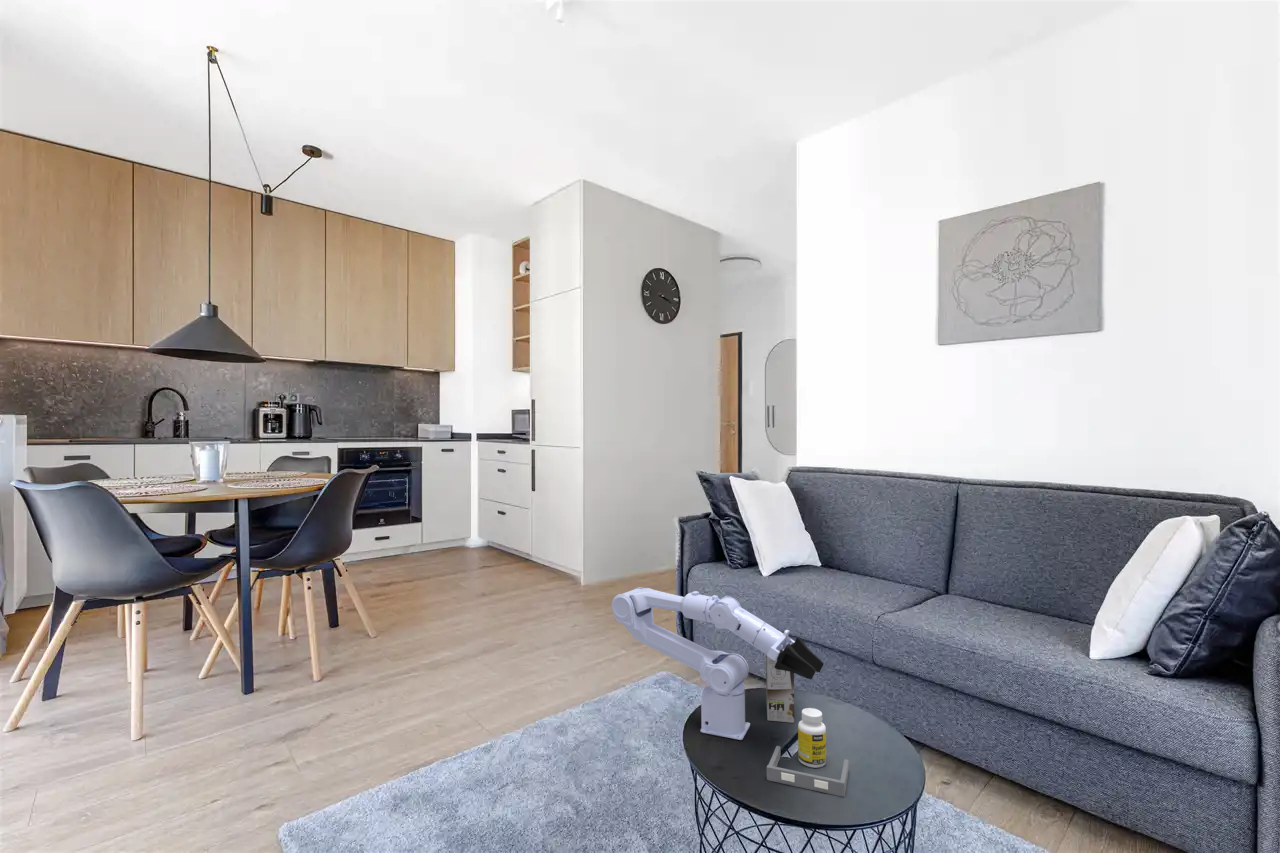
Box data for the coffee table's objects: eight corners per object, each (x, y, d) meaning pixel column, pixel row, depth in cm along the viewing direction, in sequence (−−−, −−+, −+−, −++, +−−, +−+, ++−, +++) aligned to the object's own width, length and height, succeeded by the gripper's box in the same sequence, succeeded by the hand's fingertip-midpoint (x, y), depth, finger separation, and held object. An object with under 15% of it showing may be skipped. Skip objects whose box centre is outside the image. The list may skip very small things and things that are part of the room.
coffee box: (795, 723, 136) (794, 652, 136) (766, 721, 137) (765, 650, 138) (793, 706, 145) (792, 639, 145) (766, 704, 146) (765, 638, 147)
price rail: (766, 780, 112) (766, 767, 112) (776, 755, 121) (776, 743, 121) (844, 797, 106) (844, 784, 107) (848, 770, 116) (848, 757, 116)
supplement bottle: (813, 771, 115) (812, 720, 116) (792, 759, 120) (791, 710, 120) (832, 763, 118) (831, 713, 119) (811, 752, 123) (810, 704, 123)
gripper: (758, 622, 123) (818, 660, 116) (777, 614, 136) (832, 648, 129) (743, 652, 123) (803, 692, 117) (764, 642, 136) (818, 677, 129)
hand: (817, 671), depth 123 cm, fingers open, 7 cm apart
